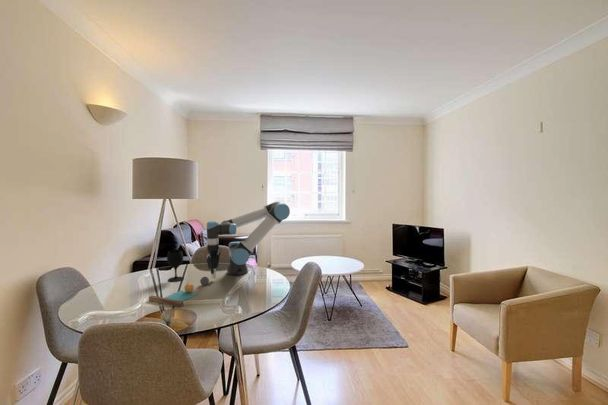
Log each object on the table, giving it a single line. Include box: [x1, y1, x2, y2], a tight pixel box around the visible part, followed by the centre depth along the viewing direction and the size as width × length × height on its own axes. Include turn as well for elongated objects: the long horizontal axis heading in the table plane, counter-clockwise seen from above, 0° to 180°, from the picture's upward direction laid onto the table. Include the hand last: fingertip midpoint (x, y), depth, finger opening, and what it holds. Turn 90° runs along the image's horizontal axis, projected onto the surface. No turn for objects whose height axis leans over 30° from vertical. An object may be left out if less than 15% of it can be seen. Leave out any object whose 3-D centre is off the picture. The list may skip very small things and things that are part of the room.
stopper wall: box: [148, 294, 185, 308], centre depth 176 cm, size 2×24×2 cm, turn 67°
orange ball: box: [183, 283, 195, 293], centre depth 192 cm, size 6×6×6 cm
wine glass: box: [166, 249, 185, 283], centre depth 216 cm, size 10×10×20 cm
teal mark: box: [164, 289, 198, 303], centre depth 186 cm, size 14×14×1 cm
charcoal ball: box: [199, 276, 210, 286], centre depth 205 cm, size 6×6×6 cm
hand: (213, 277), depth 214 cm, fingers closed
